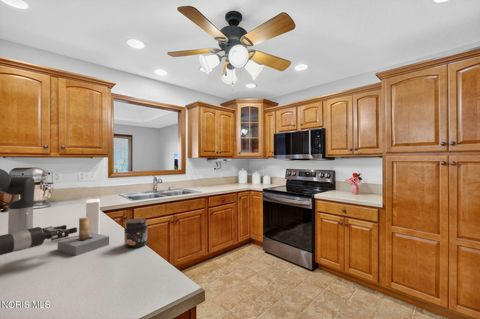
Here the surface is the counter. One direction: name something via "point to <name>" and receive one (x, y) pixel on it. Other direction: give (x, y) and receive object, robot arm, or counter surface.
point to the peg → (83, 228)
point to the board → (83, 244)
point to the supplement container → (135, 233)
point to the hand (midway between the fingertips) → (71, 228)
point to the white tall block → (93, 213)
